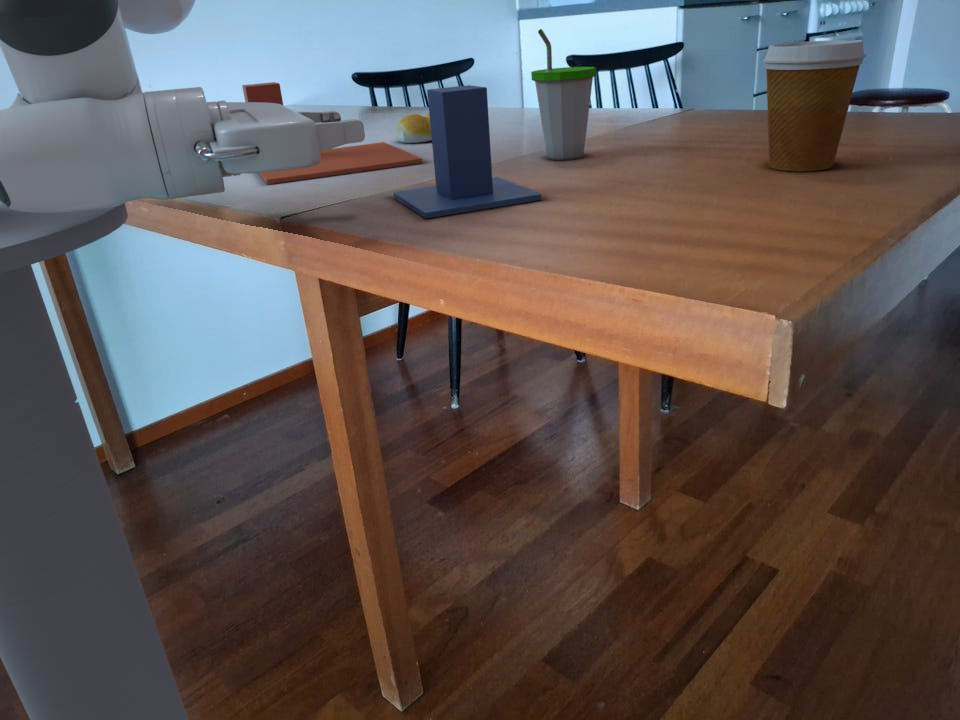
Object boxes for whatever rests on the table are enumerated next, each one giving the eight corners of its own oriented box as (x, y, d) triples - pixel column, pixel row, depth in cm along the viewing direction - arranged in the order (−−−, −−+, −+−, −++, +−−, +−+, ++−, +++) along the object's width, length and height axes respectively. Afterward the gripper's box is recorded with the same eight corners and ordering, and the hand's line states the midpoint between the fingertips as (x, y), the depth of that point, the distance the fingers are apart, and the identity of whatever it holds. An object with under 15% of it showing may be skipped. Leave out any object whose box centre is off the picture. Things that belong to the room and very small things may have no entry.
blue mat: (425, 219, 67) (425, 212, 67) (393, 197, 76) (392, 192, 76) (541, 200, 71) (541, 193, 71) (497, 182, 80) (497, 176, 80)
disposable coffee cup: (734, 167, 79) (743, 47, 74) (792, 154, 83) (805, 40, 78) (810, 178, 71) (826, 46, 66) (870, 164, 75) (890, 38, 70)
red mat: (267, 184, 88) (266, 179, 88) (251, 163, 105) (250, 159, 104) (422, 163, 95) (421, 158, 94) (384, 146, 111) (384, 142, 111)
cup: (581, 149, 96) (580, 25, 89) (606, 157, 89) (607, 23, 83) (526, 156, 94) (520, 29, 88) (546, 165, 87) (542, 29, 81)
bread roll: (462, 138, 113) (460, 111, 111) (407, 145, 109) (404, 118, 108) (442, 133, 120) (440, 107, 118) (390, 139, 116) (387, 113, 115)
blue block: (451, 200, 71) (442, 92, 67) (436, 192, 75) (426, 89, 70) (493, 193, 72) (486, 87, 68) (476, 186, 76) (469, 85, 72)
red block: (260, 163, 100) (245, 86, 95) (256, 159, 103) (242, 85, 99) (292, 159, 101) (279, 83, 97) (288, 155, 105) (275, 82, 101)
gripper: (187, 114, 52) (373, 95, 56) (182, 97, 70) (324, 83, 74) (207, 200, 55) (383, 176, 59) (197, 163, 72) (334, 147, 77)
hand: (350, 124), depth 67 cm, fingers open, 8 cm apart
